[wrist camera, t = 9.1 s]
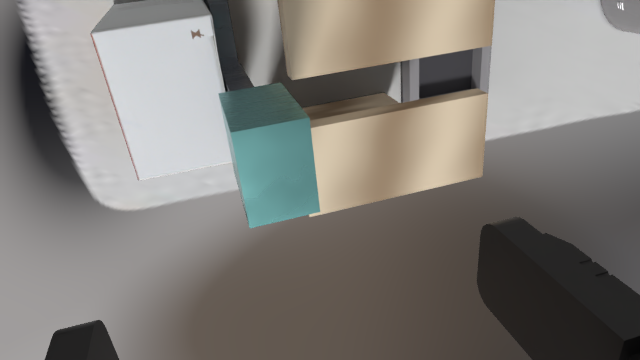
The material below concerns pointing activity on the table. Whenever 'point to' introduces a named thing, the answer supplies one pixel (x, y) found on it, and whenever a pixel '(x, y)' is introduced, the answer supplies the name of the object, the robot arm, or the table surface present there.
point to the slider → (264, 137)
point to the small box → (164, 84)
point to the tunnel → (380, 109)
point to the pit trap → (445, 74)
